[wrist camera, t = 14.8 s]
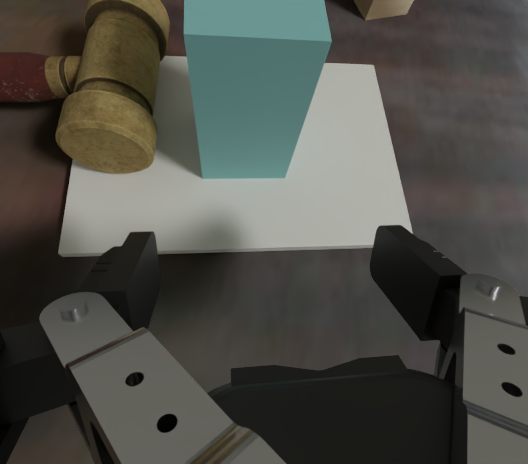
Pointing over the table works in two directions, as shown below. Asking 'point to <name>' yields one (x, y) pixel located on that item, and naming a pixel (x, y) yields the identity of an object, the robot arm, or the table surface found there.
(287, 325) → the table surface
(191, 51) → the teal block
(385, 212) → the white mat
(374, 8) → the birch cube right
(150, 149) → the gavel
